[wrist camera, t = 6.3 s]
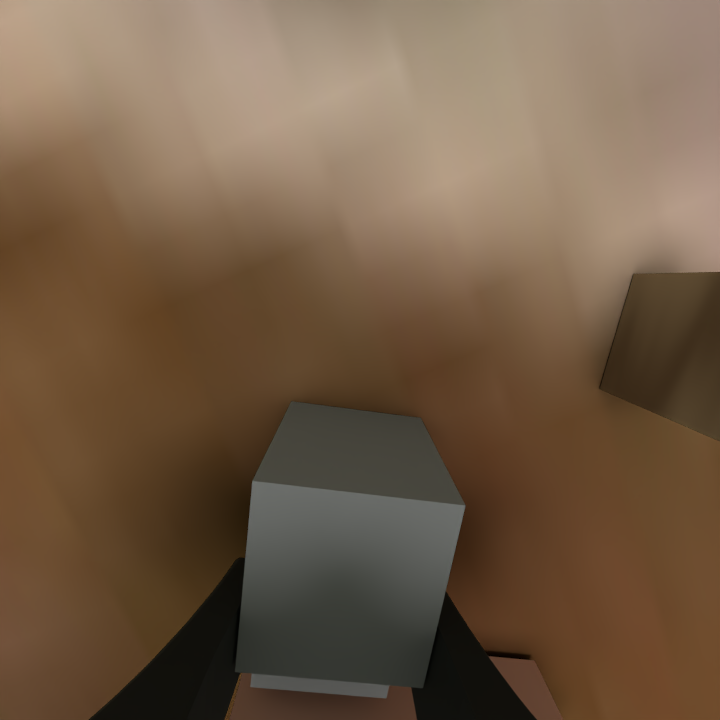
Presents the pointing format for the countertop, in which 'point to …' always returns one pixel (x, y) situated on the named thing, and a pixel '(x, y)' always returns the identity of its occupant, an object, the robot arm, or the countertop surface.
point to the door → (380, 699)
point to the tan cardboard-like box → (670, 349)
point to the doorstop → (346, 553)
